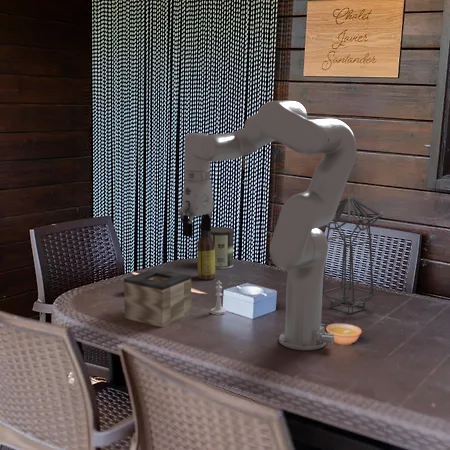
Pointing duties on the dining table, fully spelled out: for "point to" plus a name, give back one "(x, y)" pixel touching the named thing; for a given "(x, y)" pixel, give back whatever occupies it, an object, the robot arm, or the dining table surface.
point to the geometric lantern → (351, 250)
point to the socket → (157, 297)
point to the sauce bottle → (205, 255)
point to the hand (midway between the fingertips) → (197, 233)
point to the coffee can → (223, 246)
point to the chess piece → (218, 301)
